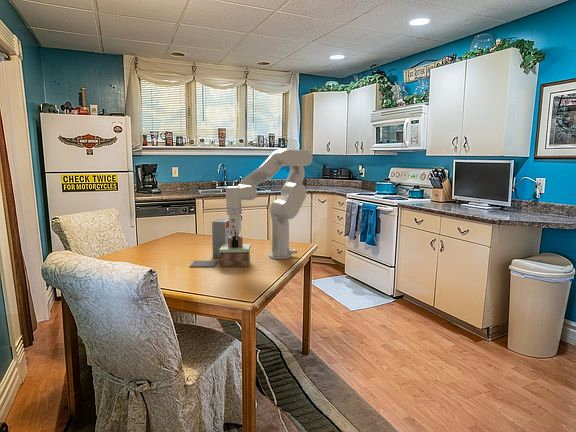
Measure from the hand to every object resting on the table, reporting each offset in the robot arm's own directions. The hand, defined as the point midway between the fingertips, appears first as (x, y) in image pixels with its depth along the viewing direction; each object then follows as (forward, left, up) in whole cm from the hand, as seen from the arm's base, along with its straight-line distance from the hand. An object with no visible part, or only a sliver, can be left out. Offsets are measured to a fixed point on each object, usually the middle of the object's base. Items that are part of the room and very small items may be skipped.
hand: (235, 246), depth 187 cm
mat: (+16, 0, -9) cm, 19 cm away
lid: (0, 0, -2) cm, 2 cm away
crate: (0, 0, -9) cm, 9 cm away
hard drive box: (+9, -20, -10) cm, 24 cm away
